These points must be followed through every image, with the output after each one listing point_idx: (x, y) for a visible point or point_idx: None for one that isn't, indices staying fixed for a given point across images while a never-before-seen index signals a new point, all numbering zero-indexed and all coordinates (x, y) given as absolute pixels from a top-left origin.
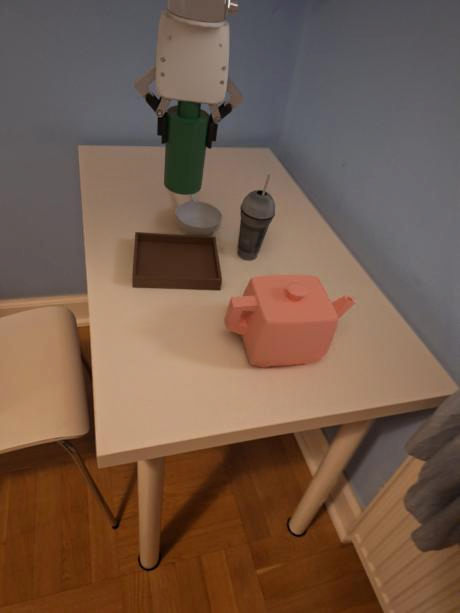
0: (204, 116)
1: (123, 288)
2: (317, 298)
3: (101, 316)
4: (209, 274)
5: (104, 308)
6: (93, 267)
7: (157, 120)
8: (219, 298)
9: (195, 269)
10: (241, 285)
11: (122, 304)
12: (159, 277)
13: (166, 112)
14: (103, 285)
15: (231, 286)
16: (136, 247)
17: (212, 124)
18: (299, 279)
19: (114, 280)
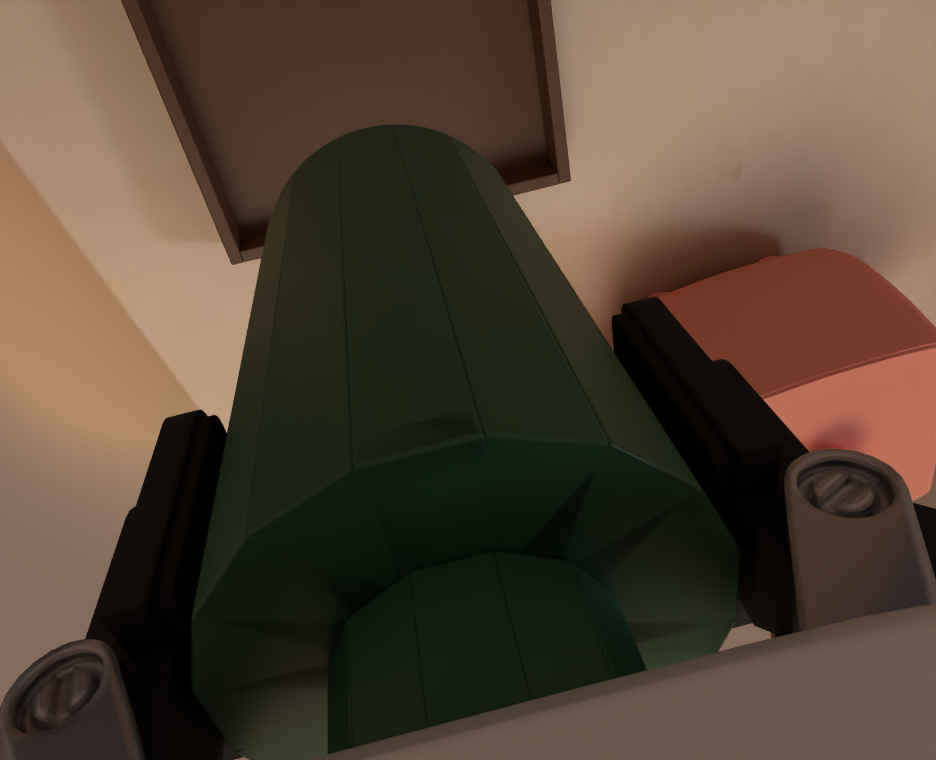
0: (677, 624)
1: (209, 255)
2: (901, 443)
3: (202, 383)
4: (512, 104)
5: (194, 354)
6: (36, 177)
7: (104, 585)
8: (554, 206)
9: (451, 88)
10: (638, 110)
11: (240, 324)
12: None
13: (176, 622)
14: (133, 261)
15: (599, 128)
16: (162, 73)
17: (745, 622)
18: (875, 383)
19: (156, 225)
